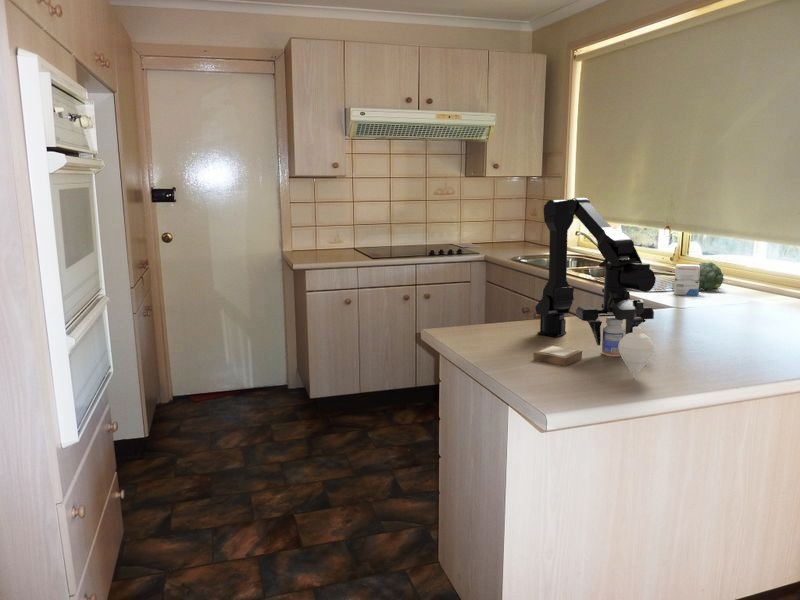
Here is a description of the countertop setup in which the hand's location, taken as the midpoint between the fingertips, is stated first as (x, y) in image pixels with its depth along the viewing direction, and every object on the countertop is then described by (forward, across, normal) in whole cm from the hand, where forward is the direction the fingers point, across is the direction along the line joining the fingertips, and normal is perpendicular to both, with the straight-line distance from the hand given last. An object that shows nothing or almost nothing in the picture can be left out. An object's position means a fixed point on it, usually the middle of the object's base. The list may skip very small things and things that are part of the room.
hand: (612, 344), depth 163 cm
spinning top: (+3, -3, -20) cm, 20 cm away
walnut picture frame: (+3, -16, -3) cm, 16 cm away
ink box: (+3, +62, +80) cm, 102 cm away
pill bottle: (+3, 0, 0) cm, 3 cm away
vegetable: (+3, +75, +89) cm, 117 cm away
